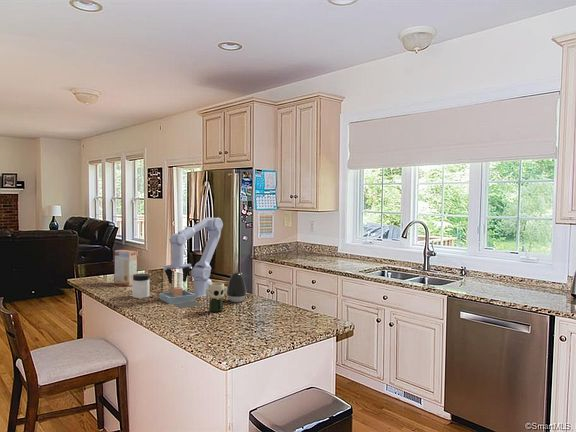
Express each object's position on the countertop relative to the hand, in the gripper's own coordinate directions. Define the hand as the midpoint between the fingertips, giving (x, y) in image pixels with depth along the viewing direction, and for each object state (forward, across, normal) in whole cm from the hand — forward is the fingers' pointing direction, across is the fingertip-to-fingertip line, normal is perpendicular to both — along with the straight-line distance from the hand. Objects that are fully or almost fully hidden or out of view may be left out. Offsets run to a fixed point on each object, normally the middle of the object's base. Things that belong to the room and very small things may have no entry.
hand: (177, 282), depth 223 cm
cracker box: (+10, +10, -56) cm, 58 cm away
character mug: (+10, -7, +30) cm, 32 cm away
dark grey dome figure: (+10, -25, +18) cm, 32 cm away
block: (+9, 0, 0) cm, 9 cm away
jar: (+10, +13, -18) cm, 24 cm away
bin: (+9, 0, 0) cm, 9 cm away
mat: (+9, 0, +13) cm, 16 cm away
